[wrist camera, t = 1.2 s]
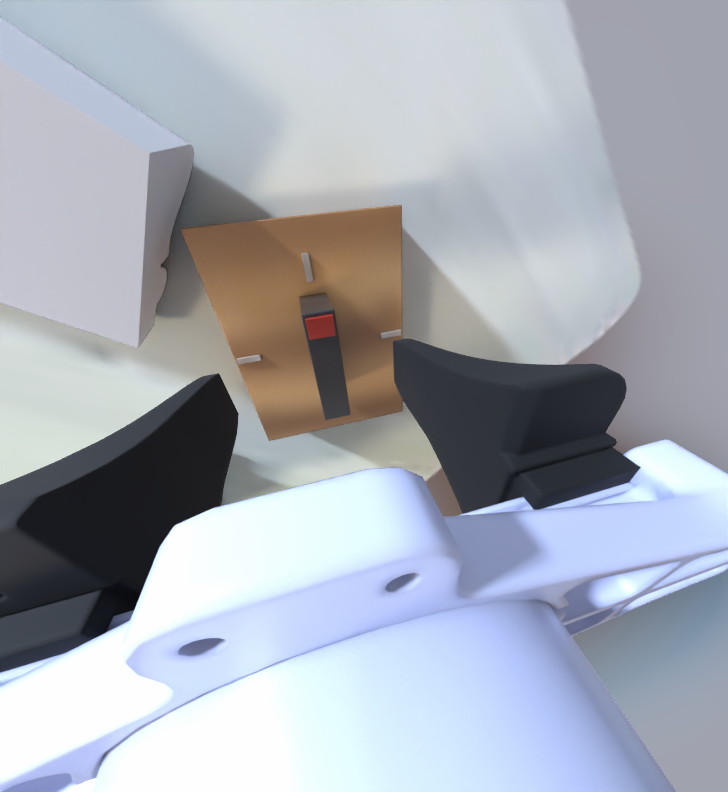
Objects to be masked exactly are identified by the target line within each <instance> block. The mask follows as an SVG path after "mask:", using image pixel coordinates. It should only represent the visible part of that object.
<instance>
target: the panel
mask: <svg viewBox="0 0 728 792" xmlns="http://www.w3.org/2000/svg"><path fill="white" fill-rule="evenodd" d="M181 232H182V234H183V237H184V239H185V242H186V244H187V246H188V249H189V251H190V254H191V256H192V258H193V261H194V263H195V265H196V268H197V270H198V273H199V275H200V277H201V280H202V282H203V285H204V287H205V289H206V292H207V294H208V296H209V299H210V301H211V304H212V306H213V308H214V311H215V313H216V316H217V318H218V320H219V323H220V325H221V327H222V330H223V332H224V335H225V337H226V339H227V342H228V344H229V347H230V349H231V351H232V354H233V356H234V358H235V361H236V363H237V366H238V368H239V370H240V373H241V375H242V378H243V380H244V382H245V385H246V387H247V390H248V392H249V394H250V397H251V399H252V401H253V404H254V406H255V409H256V411H257V413H258V416H259V418H260V421H261V423H262V425H263V428H264V430H265V432H266V435H267V437H268V440H269V441H271V440H275V439H280V438H284V437H289V436H293V435H298V434H302V433H307V432H311V431H316V430H320V429H325V428H329V427H334V426H338V425H343V424H347V423H352V422H356V421H361V420H365V419H370V418H374V417H379V416H383V415H388V414H392V413H397V412H401V411H403V399H402V398H401V396H400V393H399V391H398V389H397V387H396V385H395V382H394V364H393V341H395V340H401V339H402V206H401V205H393V206H384V207H375V208H365V209H356V210H347V211H337V212H328V213H319V214H310V215H300V216H291V217H282V218H272V219H263V220H254V221H245V222H235V223H226V224H217V225H207V226H198V227H189V228H182V229H181ZM320 293H326V294H327V296H328V298H329V300H330V302H331V304H332V306H333V308H334V310H335V315H336V321H337V328H338V334H339V341H340V348H341V354H342V361H343V367H344V374H345V380H346V387H347V393H348V400H349V406H350V413H351V414H350V415H348V416H344V417H339V418H334V419H330V420H325V417H324V413H323V409H322V404H321V400H320V396H319V391H318V387H317V383H316V378H315V374H314V370H313V365H312V361H311V357H310V352H309V348H308V344H307V339H306V335H305V331H304V326H303V322H302V318H301V311H300V302H299V297H300V296H307V295H313V294H320Z"/></svg>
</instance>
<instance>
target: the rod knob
mask: <svg viewBox="0 0 728 792" xmlns="http://www.w3.org/2000/svg"><path fill="white" fill-rule="evenodd" d="M299 302H300V311H301V318H302V322H303V326H304V331H305V335H306V339H307V344H308V348H309V352H310V357H311V361H312V365H313V370H314V374H315V378H316V383H317V387H318V391H319V396H320V400H321V404H322V409H323V413H324V417H325V420H330V419H334V418H339V417H344V416H348V415H350V414H351V413H350V406H349V400H348V393H347V387H346V380H345V374H344V367H343V361H342V354H341V348H340V341H339V334H338V328H337V321H336V315H335V310H334V308H333V306H332V304H331V302H330V300H329V298H328V296H327V294H326V293H320V294H313V295H307V296H300V297H299Z"/></svg>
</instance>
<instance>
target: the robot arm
mask: <svg viewBox="0 0 728 792" xmlns="http://www.w3.org/2000/svg"><path fill="white" fill-rule="evenodd" d="M393 364H394V382H395V385H396V387H397V389H398V391H399V393H400V396H401V398H402V399H403V401H404V402H405V404H406V406H407V407H408V409H409V410H410V412H411V413H412V415H413V416H414V418H415V419H416V421H417V422H418V424H419V425H420V427H421V428H422V430H423V431H424V433H425V434H426V436H427V438H428V439H429V441H430V443H431V445H432V447H433V449H434V451H435V453H436V455H437V457H438V459H439V461H440V463H441V466H442V468H443V470H444V472H445V474H446V476H447V478H448V480H449V483H450V485H451V487H452V490H453V492H454V494H455V496H456V499H457V501H458V503H459V506H460V508H461V511H462V513H463V514H461V515H458V516H449V517H443V516H442V514H441V512H440V510H439V508H438V506H437V504H436V502H435V500H434V498H433V497H432V495H431V493H430V491H429V489H428V487H427V485H426V483H425V481H424V479H423V477H421V476H419V475H417V474H414V473H412V472H410V471H407V470H405V469H403V468H400V467H389V468H375V469H365V470H361V471H357V472H353V473H349V474H345V475H341V476H337V477H333V478H329V479H325V480H322V481H318V482H314V483H310V484H306V485H302V486H298V487H294V488H290V489H286V490H282V491H278V492H274V493H270V494H266V495H262V496H258V497H254V498H250V499H246V500H242V501H239V502H235V503H231V504H227V505H223V506H222V503H221V501H222V494H223V488H224V483H225V479H226V475H227V471H228V467H229V463H230V459H231V456H232V452H233V448H234V444H235V440H236V435H237V427H238V412H237V410H236V408H235V406H234V404H233V402H232V400H231V397H230V395H229V393H228V391H227V389H226V387H225V385H224V383H223V381H222V379H221V377H220V375H219V374H214V375H208V376H203V377H201V378H199V379H197V380H195V381H193V382H192V383H190V384H189V385H187V386H186V387H184V388H183V389H181V390H180V391H179V392H177V393H176V394H174V395H173V396H171V397H170V398H169V399H167V400H166V401H164V402H163V403H161V404H160V405H158V406H157V407H155V408H154V409H152V410H151V411H149V412H148V413H146V414H145V415H143V416H142V417H140V418H139V419H137V420H135V421H134V422H132V423H130V424H129V425H127V426H125V427H124V428H122V429H120V430H118V431H117V432H115V433H113V434H111V435H109V436H107V437H106V438H104V439H102V440H100V441H98V442H96V443H94V444H92V445H90V446H88V447H86V448H84V449H82V450H80V451H77V452H75V453H73V454H71V455H69V456H67V457H65V458H63V459H61V460H59V461H57V462H54V463H52V464H50V465H47V466H45V467H43V468H40V469H38V470H36V471H33V472H31V473H29V474H26V475H24V476H21V477H19V478H16V479H14V480H11V481H9V482H7V483H4V484H1V485H0V792H676V791H675V789H674V788H673V786H672V785H671V783H670V782H669V780H668V779H667V777H666V776H665V775H664V773H663V772H662V770H661V769H660V767H659V766H658V764H657V763H656V761H655V760H654V758H653V757H652V755H651V754H650V752H649V751H648V749H647V748H646V747H645V745H644V743H643V742H642V740H641V739H640V737H639V736H638V735H637V733H636V732H635V730H634V729H633V727H632V726H631V724H630V723H629V721H628V720H627V718H626V717H625V715H624V714H623V712H622V711H621V709H620V708H619V706H618V705H617V704H616V702H615V700H614V699H613V697H612V696H611V695H610V693H609V692H608V690H607V689H606V687H605V686H604V684H603V683H602V681H601V680H600V678H599V677H598V675H597V674H596V672H595V671H594V669H593V668H592V666H591V665H590V663H589V662H588V661H587V659H586V657H585V656H584V655H583V653H582V652H581V650H580V649H579V647H578V646H577V644H576V643H575V641H574V640H573V638H572V637H571V636H573V635H576V634H578V633H580V632H582V631H585V630H587V629H589V628H592V627H594V626H596V625H599V624H601V623H603V622H605V621H608V620H610V619H612V618H614V617H617V616H619V615H621V614H624V613H626V612H628V611H631V610H633V609H635V608H637V607H640V606H642V605H644V604H647V603H649V602H652V601H654V600H656V599H659V598H661V597H663V596H666V595H668V594H671V593H673V592H676V591H678V590H680V589H683V588H685V587H687V586H690V585H693V584H695V583H697V582H700V581H703V580H705V579H708V578H710V577H713V576H716V575H718V574H721V573H723V572H724V571H726V570H728V474H727V473H725V472H724V471H722V470H720V469H719V468H717V467H715V466H713V465H711V464H710V463H708V462H706V461H705V460H703V459H701V458H699V457H698V456H696V455H694V454H693V453H691V452H689V451H687V450H685V449H684V448H682V447H680V446H679V445H677V444H675V443H674V442H672V441H670V440H661V441H657V442H653V443H650V444H646V445H643V446H639V447H636V448H633V449H631V450H629V451H628V452H626V453H625V454H624V455H622V454H621V453H620V452H618V451H617V450H615V449H614V448H613V447H612V446H615V444H616V443H617V442H616V439H614V438H613V437H611V436H610V435H608V434H607V433H605V432H606V430H607V429H608V427H609V425H610V424H611V422H612V420H613V419H614V417H615V415H616V414H617V412H618V410H619V409H620V407H621V404H622V403H623V401H624V398H625V394H626V383H625V379H624V378H623V377H622V376H621V375H620V374H618V373H616V372H614V371H612V370H610V369H608V368H606V367H603V366H601V365H597V364H575V365H574V364H573V365H536V364H518V363H508V362H498V361H491V360H485V359H479V358H474V357H469V356H465V355H461V354H457V353H453V352H450V351H446V350H443V349H440V348H437V347H434V346H431V345H428V344H425V343H422V342H419V341H415V340H412V339H401V340H395V341H393Z"/></svg>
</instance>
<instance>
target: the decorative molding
mask: <svg viewBox="0 0 728 792" xmlns="http://www.w3.org/2000/svg"><path fill="white" fill-rule="evenodd" d="M193 157H194V152H193V147H192V145H190V144H189V143H187V142H186V141H184V140H183V139H181V138H180V137H178V136H177V135H175V134H174V133H172V132H171V131H169V130H168V129H166V128H165V127H163V126H162V125H160V124H159V123H157V122H156V121H154V120H153V119H151V118H150V117H148V116H147V115H145V114H144V113H142V112H141V111H140V110H138V109H137V108H135V107H134V106H132V105H131V104H129V103H128V102H126V101H125V100H123V99H122V98H120V97H119V96H117V95H116V94H114V93H113V92H111V91H110V90H108V89H107V88H105V87H104V86H102V85H101V84H99V83H98V82H96V81H95V80H93V79H92V78H90V77H89V76H87V75H86V74H84V73H83V72H81V71H80V70H78V69H77V68H75V67H74V66H72V65H71V64H69V63H68V62H66V61H65V60H63V59H62V58H60V57H59V56H57V55H56V54H54V53H53V52H51V51H50V50H49V49H47V48H46V47H44V46H43V45H41V44H40V43H38V42H37V41H35V40H34V39H32V38H31V37H29V36H28V35H26V34H25V33H23V32H22V31H20V30H19V29H17V28H16V27H14V26H13V25H11V24H10V23H8V22H7V21H5V20H4V19H2V18H1V17H0V303H2V304H5V305H8V306H11V307H14V308H17V309H20V310H23V311H26V312H29V313H32V314H35V315H38V316H41V317H44V318H47V319H50V320H53V321H57V322H60V323H63V324H66V325H69V326H72V327H75V328H78V329H81V330H84V331H87V332H90V333H93V334H96V335H99V336H102V337H105V338H108V339H111V340H114V341H117V342H120V343H123V344H126V345H129V346H132V347H135V348H139V346H140V345H141V343H142V342H143V340H144V339H145V337H146V336H147V334H148V333H149V331H150V330H151V329H152V327H153V326H154V321H155V312H156V305H157V303H158V302H159V300H160V298H161V296H162V294H163V291H164V289H165V285H166V281H167V270H166V269H165V268H164V267H162V266H161V264H162V263H163V262H164V261H165V259H166V258H167V257H168V256H169V244H170V238H171V234H172V230H173V226H174V223H175V220H176V217H177V214H178V211H179V208H180V205H181V202H182V199H183V196H184V194H185V191H186V188H187V185H188V182H189V179H190V175H191V171H192V167H193Z"/></svg>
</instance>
